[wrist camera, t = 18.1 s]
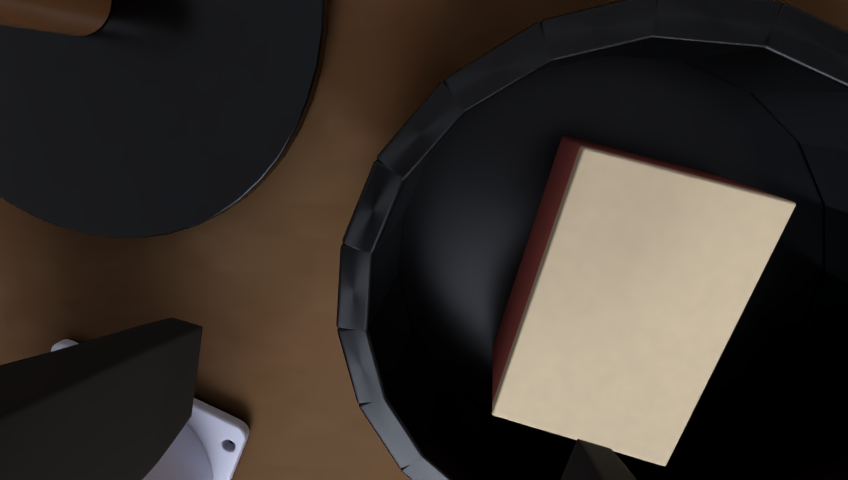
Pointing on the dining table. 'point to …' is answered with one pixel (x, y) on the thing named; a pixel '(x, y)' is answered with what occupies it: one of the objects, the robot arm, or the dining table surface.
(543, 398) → the red and cream block
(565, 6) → the dining table surface
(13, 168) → the pan lid
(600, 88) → the pan
